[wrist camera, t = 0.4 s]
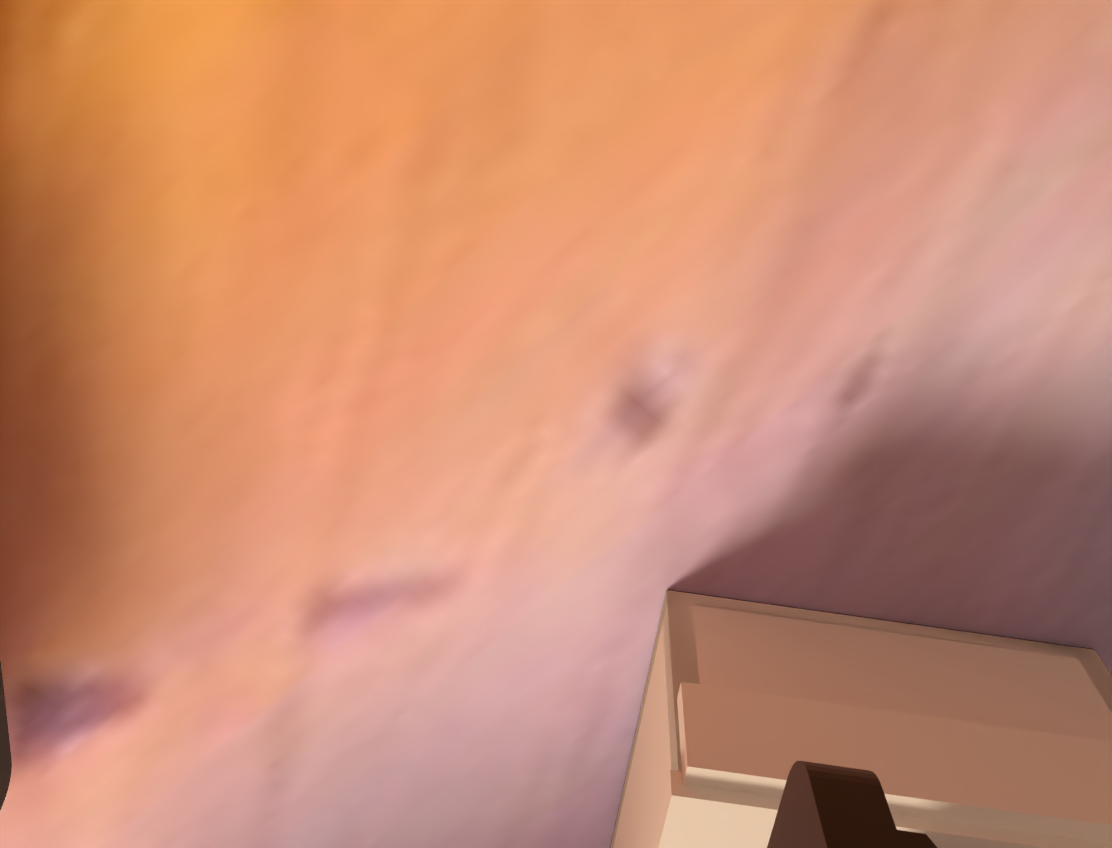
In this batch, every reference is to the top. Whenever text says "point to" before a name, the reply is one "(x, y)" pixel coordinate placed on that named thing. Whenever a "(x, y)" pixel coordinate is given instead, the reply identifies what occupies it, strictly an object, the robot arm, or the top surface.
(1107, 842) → the mailer lid
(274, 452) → the top surface
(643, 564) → the top surface
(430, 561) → the top surface
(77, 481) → the top surface
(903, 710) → the mailer box
